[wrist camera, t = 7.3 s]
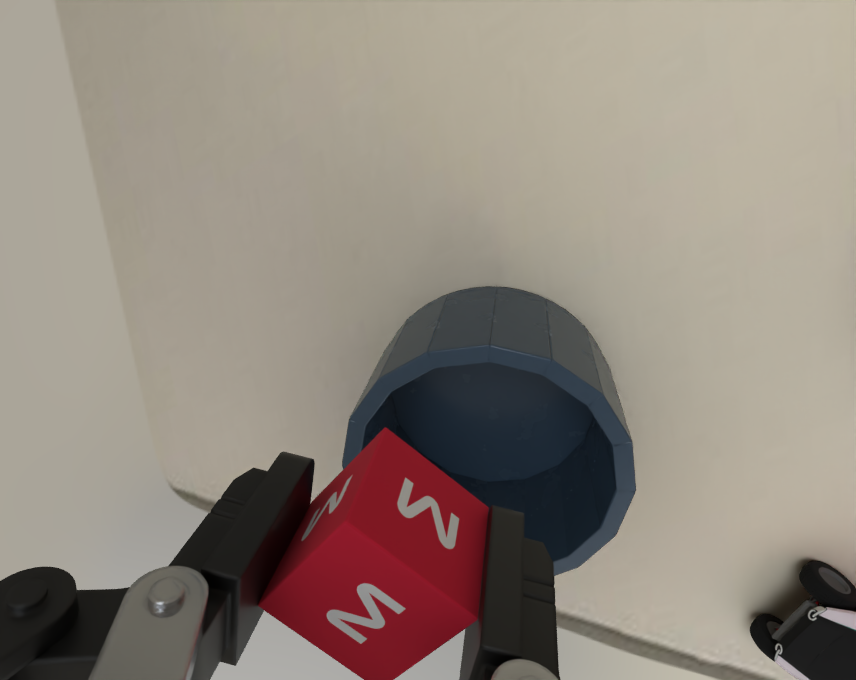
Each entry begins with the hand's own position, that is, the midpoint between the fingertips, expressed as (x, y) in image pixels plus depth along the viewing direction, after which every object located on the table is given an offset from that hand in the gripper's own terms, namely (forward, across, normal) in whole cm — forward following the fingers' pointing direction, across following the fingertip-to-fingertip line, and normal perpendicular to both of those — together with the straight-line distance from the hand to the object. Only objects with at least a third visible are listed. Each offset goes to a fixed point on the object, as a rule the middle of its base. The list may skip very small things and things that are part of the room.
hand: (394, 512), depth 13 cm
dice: (0, 0, 0) cm, 0 cm away
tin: (+18, -3, +6) cm, 19 cm away
